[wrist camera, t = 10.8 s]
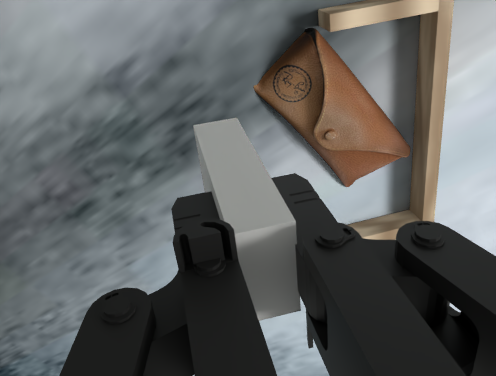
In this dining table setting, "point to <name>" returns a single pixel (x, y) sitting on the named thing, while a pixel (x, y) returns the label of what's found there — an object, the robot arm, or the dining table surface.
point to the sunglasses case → (331, 109)
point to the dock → (427, 98)
